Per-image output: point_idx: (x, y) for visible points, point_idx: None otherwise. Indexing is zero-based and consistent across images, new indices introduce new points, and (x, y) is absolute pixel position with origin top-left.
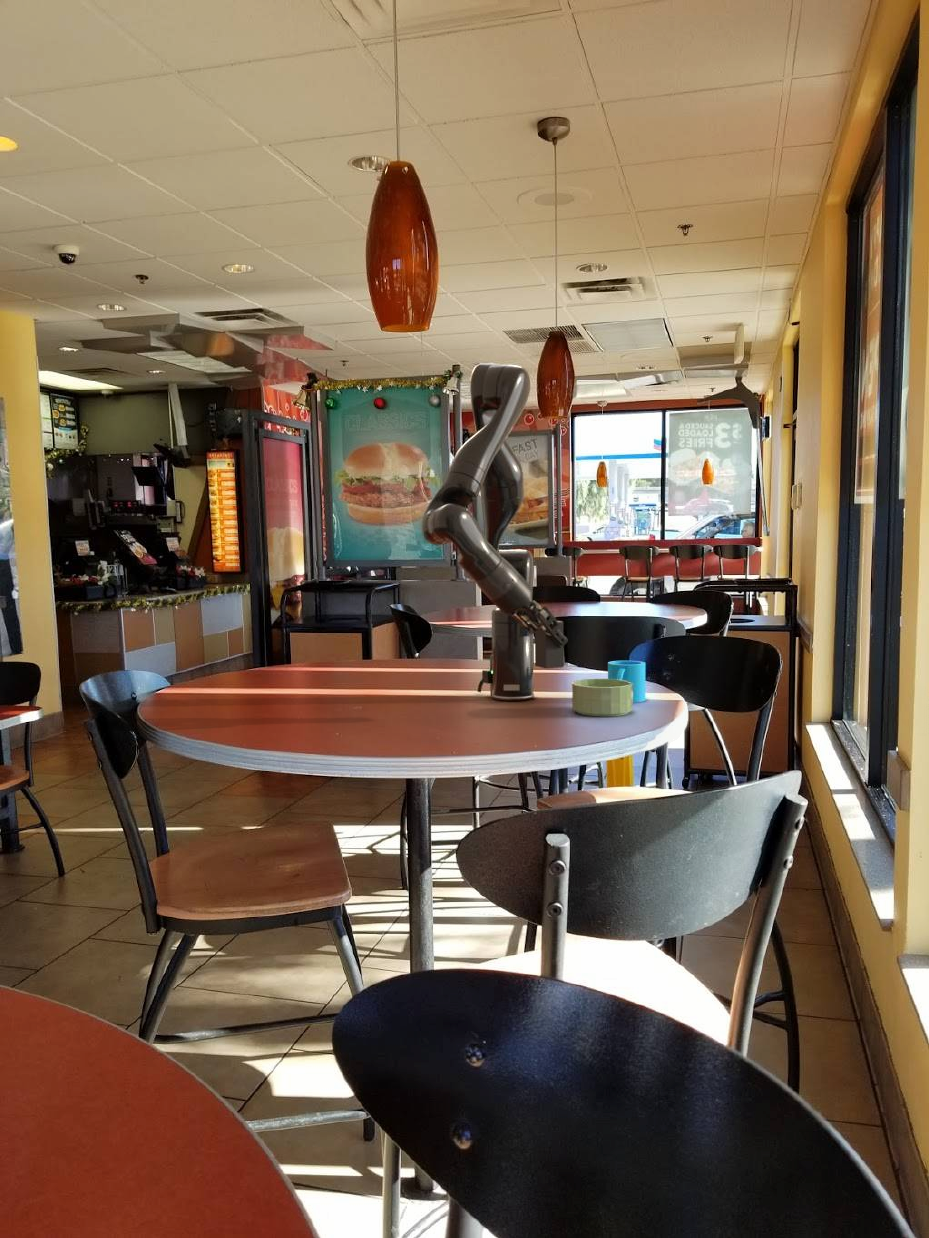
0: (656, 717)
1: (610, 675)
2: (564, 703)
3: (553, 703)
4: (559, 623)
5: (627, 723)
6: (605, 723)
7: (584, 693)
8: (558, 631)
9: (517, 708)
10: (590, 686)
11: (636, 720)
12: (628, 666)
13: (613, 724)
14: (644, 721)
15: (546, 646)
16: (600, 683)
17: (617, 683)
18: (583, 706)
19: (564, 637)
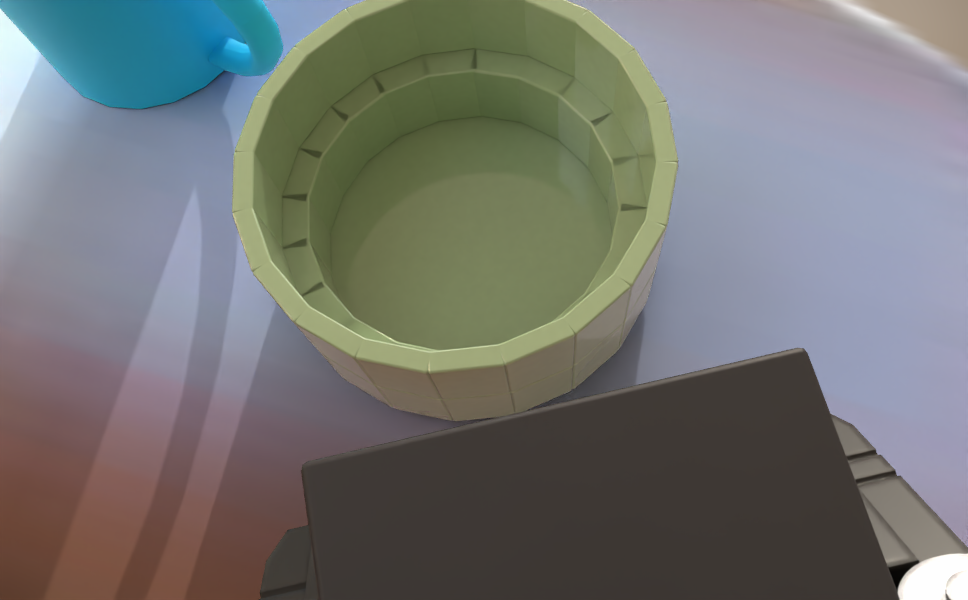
0: (705, 36)
1: (76, 5)
2: (114, 377)
3: (83, 445)
4: (829, 452)
5: (857, 223)
6: (840, 340)
7: (583, 344)
8: (959, 549)
9: None
10: (271, 210)
11: (774, 152)
12: None
13: (879, 305)
14: (810, 123)
15: None
16: (278, 136)
17: (350, 44)
18: (577, 377)
19: (867, 441)
